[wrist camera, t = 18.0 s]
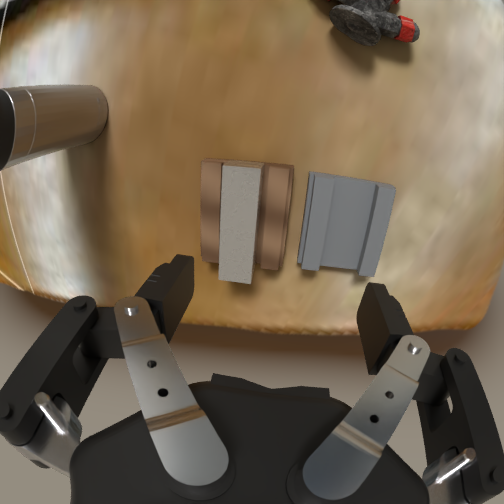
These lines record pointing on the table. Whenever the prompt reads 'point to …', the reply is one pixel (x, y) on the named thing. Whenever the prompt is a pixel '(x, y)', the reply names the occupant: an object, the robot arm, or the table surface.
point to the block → (239, 219)
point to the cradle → (270, 218)
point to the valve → (372, 21)
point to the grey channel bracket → (344, 223)
